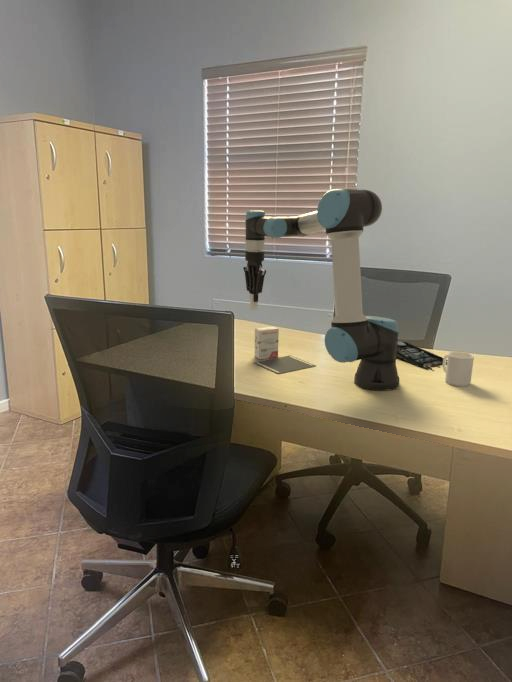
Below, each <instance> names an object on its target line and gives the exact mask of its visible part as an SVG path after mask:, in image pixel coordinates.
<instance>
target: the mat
mask: <svg viewBox="0 0 512 682" xmlns="http://www.w3.org/2000/svg"><path fill="white" fill-rule="evenodd" d="M252 363H253V364H255V365H258V366H259V367H262V368H264V369H265V370H267V371H270V372H273V373H274V374H276V375H281V374H285V373H289V372H290V373H291V372H295V371H299V370H304V369H305V370H306V369H310V368H314V367H316V366H317V365H316V364H313V363H310V362H309V361H306V360H303V359H301V358H298V357H295V356H292V355H286V356H280V357H279V356H278V357H273V358H268V359H262V360H259V361H254V362H252Z"/></svg>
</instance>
